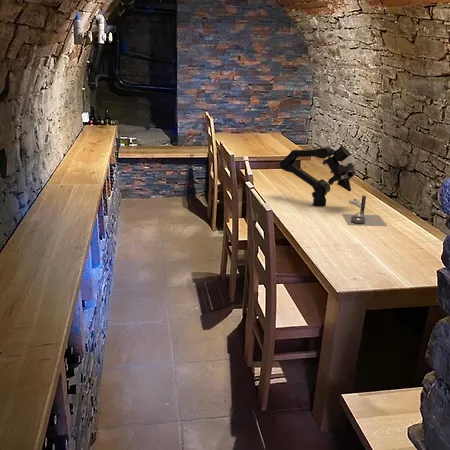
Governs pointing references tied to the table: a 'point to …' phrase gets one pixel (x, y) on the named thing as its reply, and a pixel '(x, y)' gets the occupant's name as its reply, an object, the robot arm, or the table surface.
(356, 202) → the adjustable wrench
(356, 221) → the crank handle
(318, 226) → the table surface
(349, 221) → the level stand
